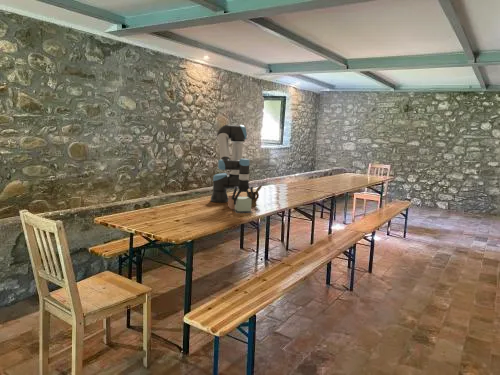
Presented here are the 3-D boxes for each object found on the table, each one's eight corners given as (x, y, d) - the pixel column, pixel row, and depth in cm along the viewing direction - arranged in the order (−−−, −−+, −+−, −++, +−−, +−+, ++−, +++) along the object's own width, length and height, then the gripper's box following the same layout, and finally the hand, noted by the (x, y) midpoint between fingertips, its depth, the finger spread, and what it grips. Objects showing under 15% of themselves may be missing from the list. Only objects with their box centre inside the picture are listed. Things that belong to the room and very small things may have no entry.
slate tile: (232, 209, 288) (232, 209, 288) (248, 209, 291) (248, 209, 291) (236, 213, 276) (236, 213, 275) (253, 213, 279) (253, 212, 279)
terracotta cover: (228, 206, 299) (228, 195, 297) (240, 206, 302) (240, 195, 300) (231, 209, 289) (231, 198, 288) (243, 209, 292) (244, 197, 290)
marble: (239, 211, 283) (239, 207, 282) (243, 211, 283) (243, 207, 283) (240, 212, 280) (240, 208, 279) (244, 211, 281) (244, 208, 280)
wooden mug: (257, 208, 298) (258, 185, 296) (243, 205, 305) (244, 183, 302) (263, 206, 306) (264, 184, 303) (248, 204, 313) (249, 182, 310)
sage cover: (234, 208, 287) (234, 196, 285) (247, 208, 290) (247, 196, 288) (237, 211, 277) (238, 199, 276) (251, 211, 280) (251, 199, 278)
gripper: (230, 180, 273) (229, 210, 276) (259, 180, 279) (258, 209, 283) (227, 178, 280) (226, 207, 284) (256, 178, 287) (255, 207, 290)
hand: (242, 208), depth 283 cm, fingers closed on sage cover, 10 cm apart
